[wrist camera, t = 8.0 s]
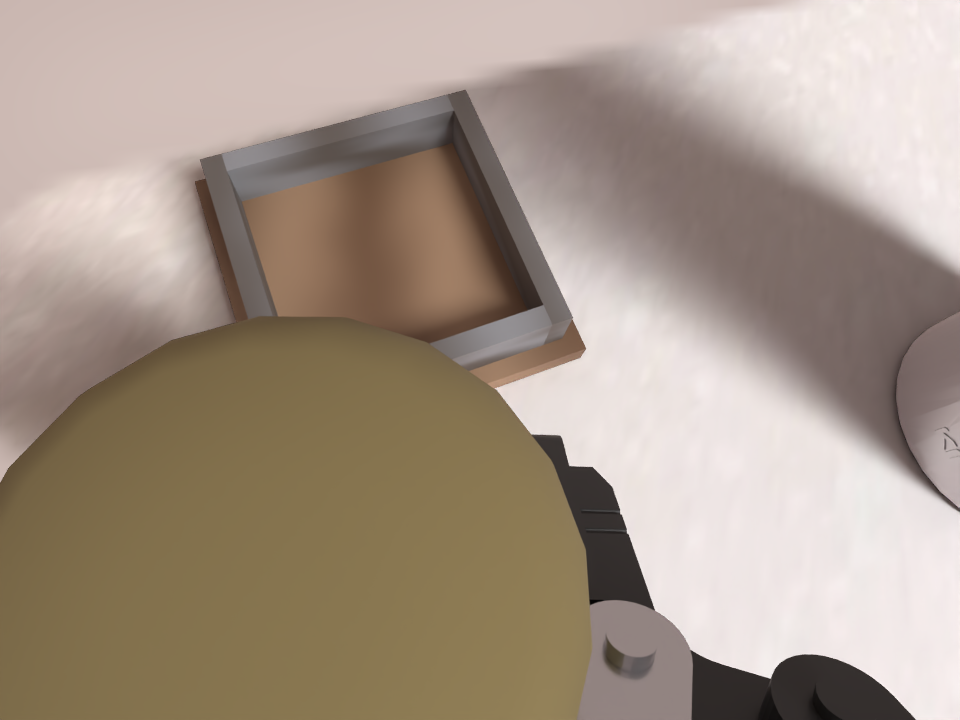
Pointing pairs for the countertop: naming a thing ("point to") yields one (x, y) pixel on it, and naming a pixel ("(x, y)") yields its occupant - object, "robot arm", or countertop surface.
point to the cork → (290, 541)
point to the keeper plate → (392, 237)
